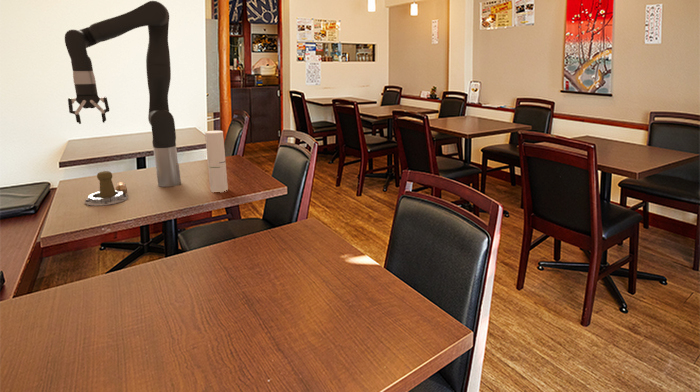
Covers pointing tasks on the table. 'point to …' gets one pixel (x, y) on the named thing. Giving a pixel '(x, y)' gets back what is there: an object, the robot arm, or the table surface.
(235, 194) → the table surface
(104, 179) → the cork
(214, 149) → the beige rectangular tower
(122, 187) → the pipe stub
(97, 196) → the flange seat
